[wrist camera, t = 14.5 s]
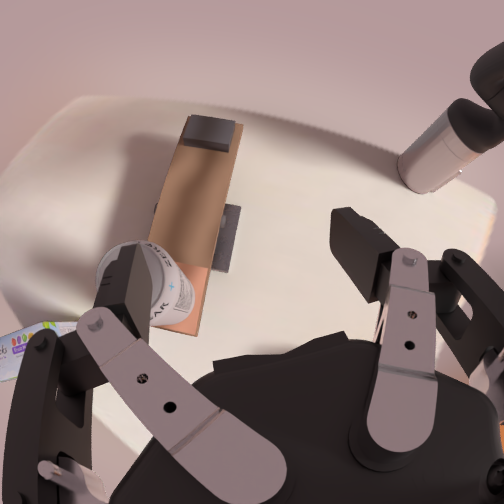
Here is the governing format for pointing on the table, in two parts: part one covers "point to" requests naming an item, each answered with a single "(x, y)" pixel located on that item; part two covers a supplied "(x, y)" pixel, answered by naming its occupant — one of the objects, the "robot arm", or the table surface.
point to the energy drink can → (159, 283)
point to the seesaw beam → (196, 204)
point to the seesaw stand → (226, 239)
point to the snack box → (13, 345)
